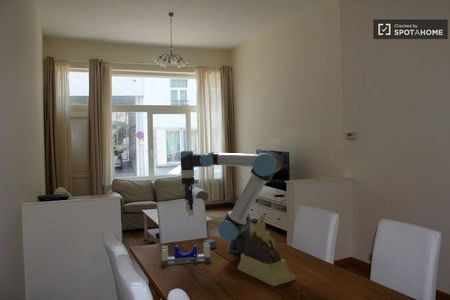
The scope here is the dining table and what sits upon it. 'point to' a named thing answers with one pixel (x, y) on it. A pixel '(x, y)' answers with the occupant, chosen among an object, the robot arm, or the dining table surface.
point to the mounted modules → (205, 249)
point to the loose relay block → (211, 243)
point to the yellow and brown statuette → (264, 258)
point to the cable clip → (180, 254)
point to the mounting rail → (186, 260)
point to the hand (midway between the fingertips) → (189, 213)
